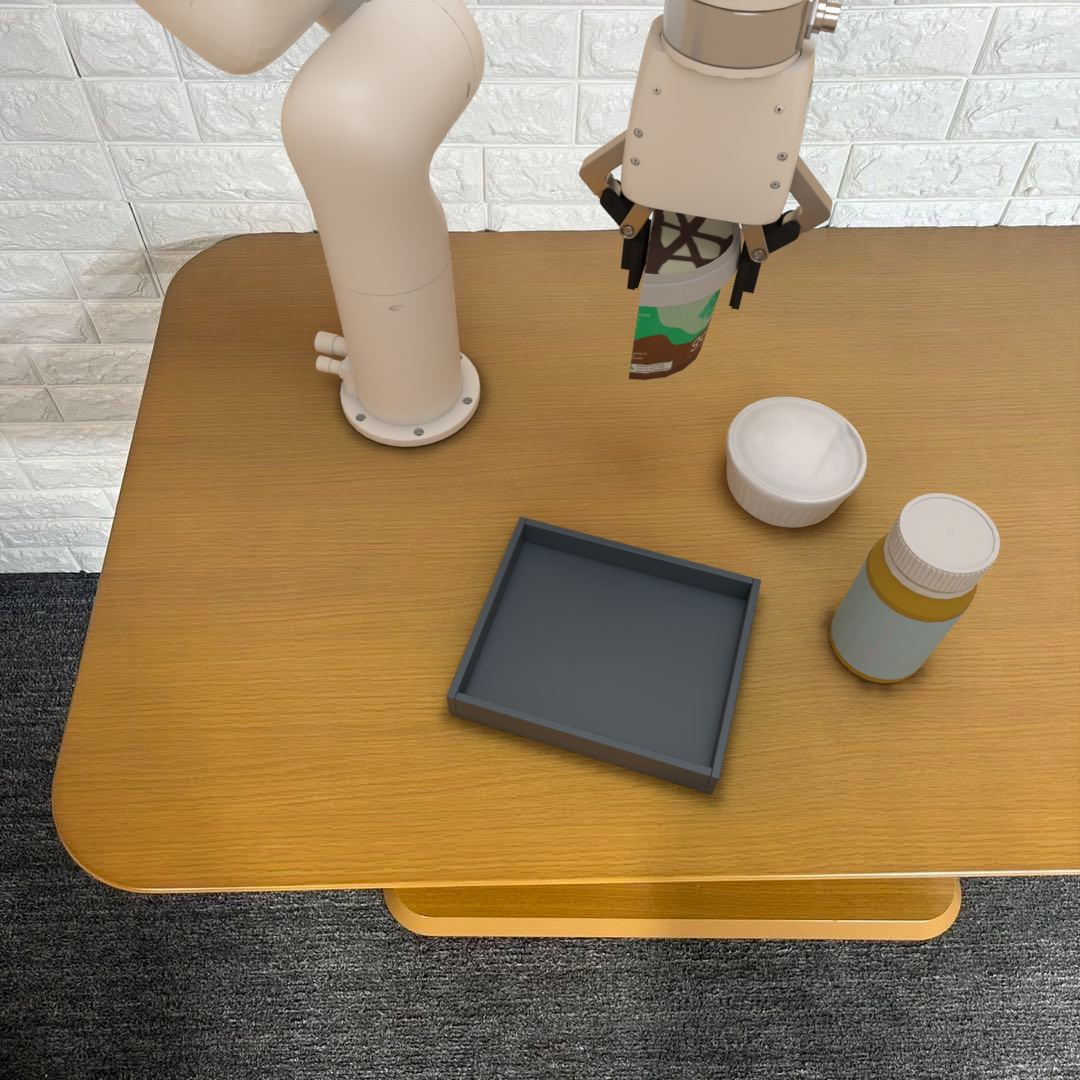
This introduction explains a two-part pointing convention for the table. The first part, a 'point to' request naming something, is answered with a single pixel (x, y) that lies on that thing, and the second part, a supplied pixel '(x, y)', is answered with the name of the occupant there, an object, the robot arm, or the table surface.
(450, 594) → the table surface
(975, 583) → the bottle
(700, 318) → the food container
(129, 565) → the table surface
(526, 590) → the tray
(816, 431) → the ramekin
